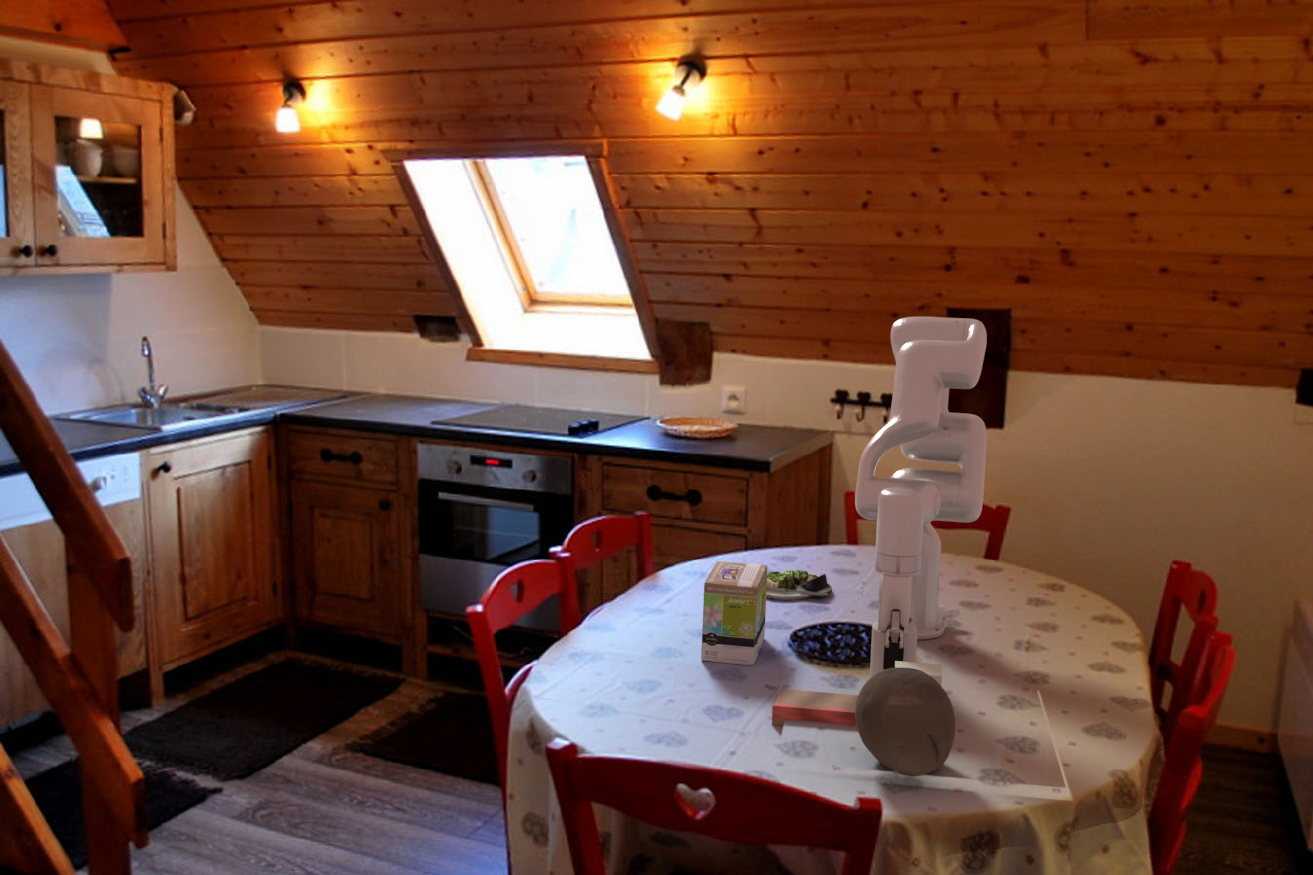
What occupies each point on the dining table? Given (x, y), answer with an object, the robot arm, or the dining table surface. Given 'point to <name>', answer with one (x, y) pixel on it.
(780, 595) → the salad plate
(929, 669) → the cream rectangular block
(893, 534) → the robot arm
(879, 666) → the can
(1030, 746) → the dining table surface
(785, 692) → the shelf board
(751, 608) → the tea box
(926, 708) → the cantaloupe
